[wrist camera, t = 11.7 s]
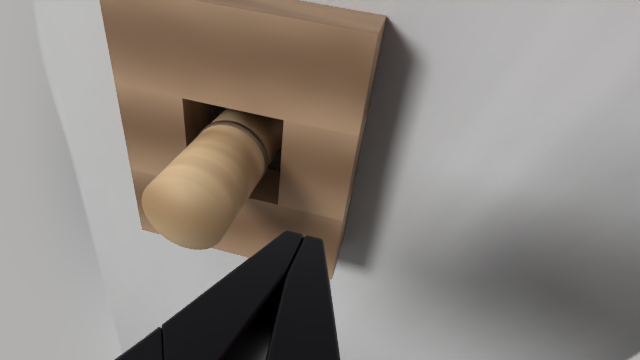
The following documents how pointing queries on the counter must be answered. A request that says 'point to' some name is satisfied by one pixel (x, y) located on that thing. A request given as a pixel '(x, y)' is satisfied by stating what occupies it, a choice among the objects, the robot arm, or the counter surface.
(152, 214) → the peg
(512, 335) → the counter surface
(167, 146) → the board
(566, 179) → the counter surface
